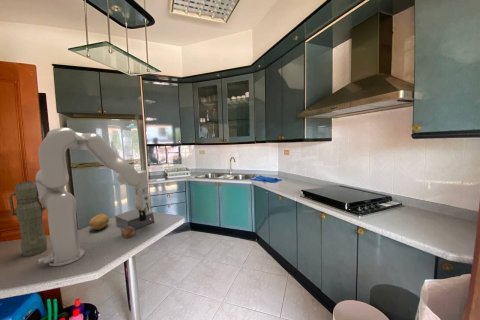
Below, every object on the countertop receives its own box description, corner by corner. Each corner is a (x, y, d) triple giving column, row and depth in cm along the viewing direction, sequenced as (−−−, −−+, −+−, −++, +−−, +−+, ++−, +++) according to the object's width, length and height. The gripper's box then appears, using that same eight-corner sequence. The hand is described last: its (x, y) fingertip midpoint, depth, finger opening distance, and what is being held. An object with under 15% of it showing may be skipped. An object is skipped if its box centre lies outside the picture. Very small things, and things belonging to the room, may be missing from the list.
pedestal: (126, 238, 112) (125, 231, 112) (121, 236, 115) (121, 229, 115) (135, 234, 116) (134, 228, 116) (130, 232, 119) (130, 226, 119)
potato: (85, 234, 119) (84, 221, 118) (94, 225, 132) (93, 213, 131) (105, 231, 122) (103, 218, 121) (111, 223, 135) (110, 211, 134)
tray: (130, 231, 121) (130, 223, 120) (118, 225, 130) (117, 217, 130) (154, 222, 133) (154, 215, 132) (141, 217, 143) (140, 210, 142)
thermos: (51, 250, 102) (42, 181, 99) (17, 260, 94) (5, 185, 91) (51, 243, 109) (42, 179, 105) (19, 252, 101) (8, 183, 97)
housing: (128, 231, 121) (127, 221, 121) (116, 225, 131) (115, 215, 130) (153, 221, 134) (152, 212, 134) (140, 217, 144) (140, 208, 143)
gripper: (154, 191, 122) (155, 221, 123) (140, 188, 130) (142, 216, 132) (141, 193, 116) (143, 225, 117) (128, 190, 124) (130, 220, 126)
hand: (142, 220), depth 124 cm, fingers closed
